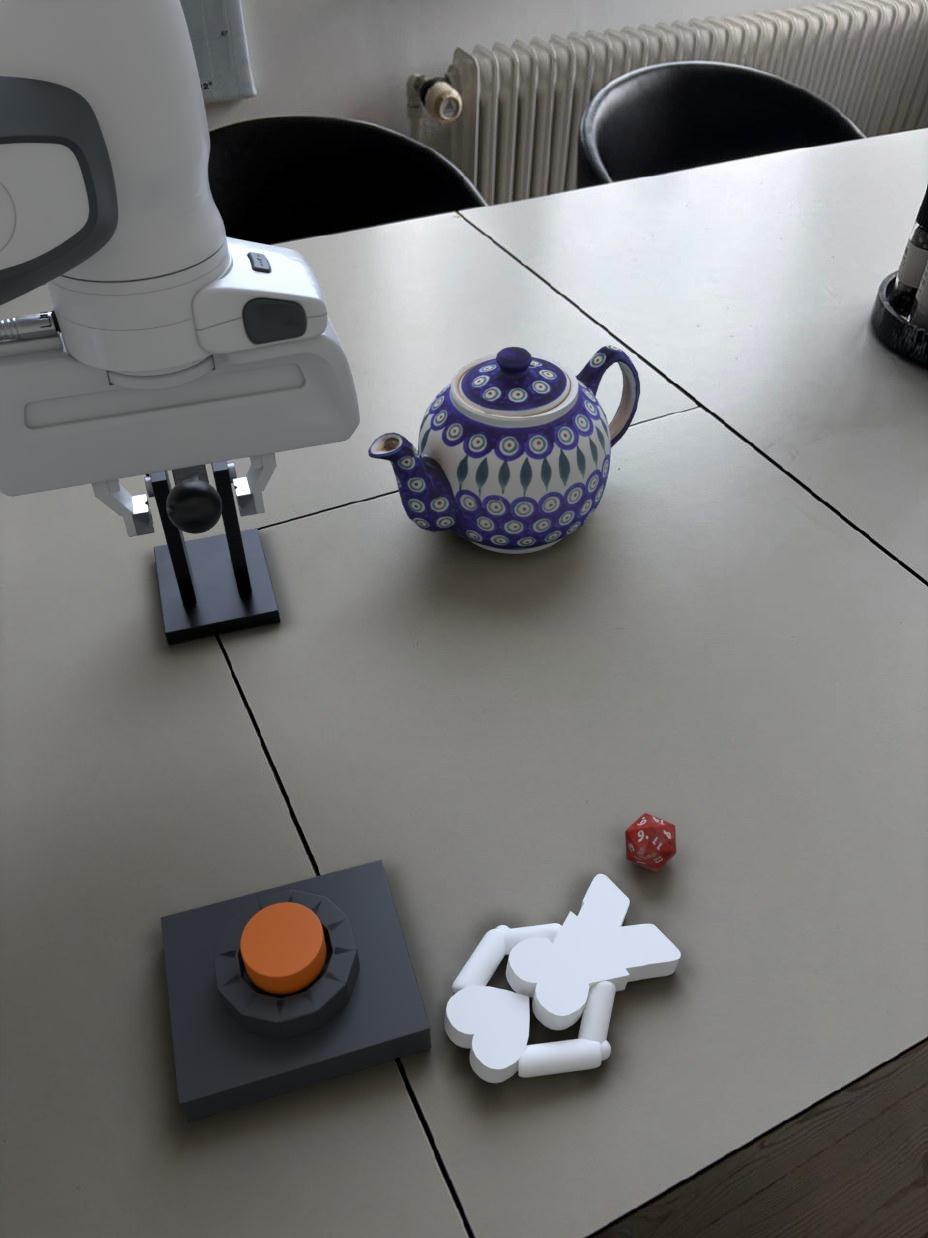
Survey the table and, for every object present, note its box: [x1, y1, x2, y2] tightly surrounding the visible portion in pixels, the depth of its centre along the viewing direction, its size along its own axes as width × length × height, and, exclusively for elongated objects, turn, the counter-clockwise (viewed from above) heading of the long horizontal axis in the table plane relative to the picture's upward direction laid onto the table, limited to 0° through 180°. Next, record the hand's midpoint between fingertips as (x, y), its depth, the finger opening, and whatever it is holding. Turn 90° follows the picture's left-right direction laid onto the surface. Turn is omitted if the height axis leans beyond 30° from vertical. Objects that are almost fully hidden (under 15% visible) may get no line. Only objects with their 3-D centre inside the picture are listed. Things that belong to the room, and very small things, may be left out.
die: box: [624, 812, 677, 873], centre depth 57 cm, size 3×3×3 cm
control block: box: [160, 859, 432, 1123], centre depth 51 cm, size 12×10×4 cm
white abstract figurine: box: [443, 873, 682, 1084], centre depth 52 cm, size 9×12×2 cm
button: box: [240, 902, 326, 994], centre depth 49 cm, size 4×4×2 cm
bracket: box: [143, 461, 281, 646], centre depth 71 cm, size 10×8×12 cm
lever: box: [166, 464, 222, 535], centre depth 64 cm, size 13×3×3 cm, turn 17°
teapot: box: [367, 345, 641, 555], centre depth 77 cm, size 25×15×15 cm, turn 122°
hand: (197, 519), depth 60 cm, fingers open, 5 cm apart
